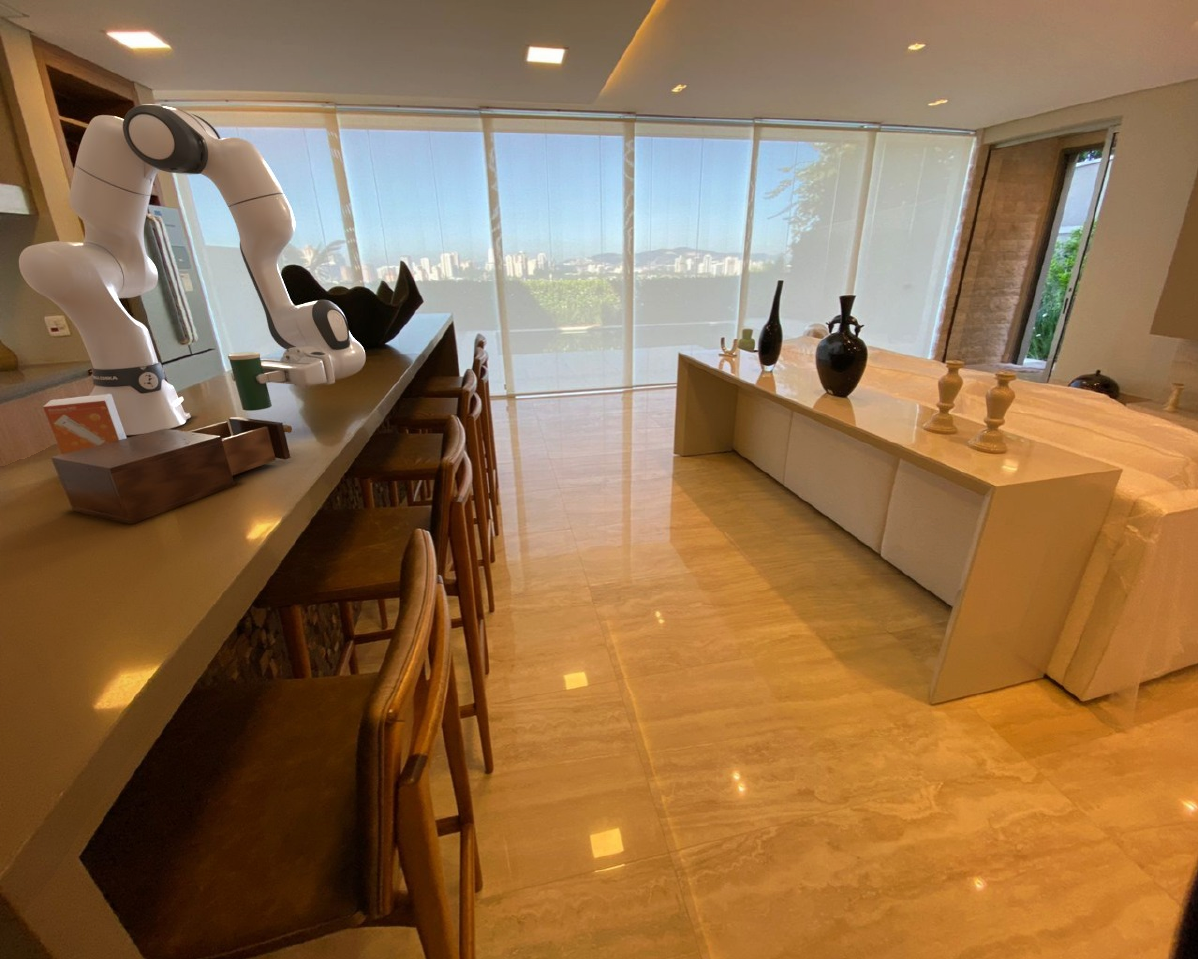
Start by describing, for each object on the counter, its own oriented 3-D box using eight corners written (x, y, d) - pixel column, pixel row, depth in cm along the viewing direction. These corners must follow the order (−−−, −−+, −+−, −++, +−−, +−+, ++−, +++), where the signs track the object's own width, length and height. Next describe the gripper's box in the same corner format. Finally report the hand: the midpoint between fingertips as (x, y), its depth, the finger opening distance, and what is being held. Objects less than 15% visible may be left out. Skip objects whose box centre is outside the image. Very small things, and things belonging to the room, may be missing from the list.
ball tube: (235, 409, 108) (221, 355, 104) (259, 403, 113) (246, 351, 108) (254, 411, 106) (240, 356, 102) (278, 405, 111) (265, 352, 107)
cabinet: (180, 475, 93) (165, 428, 90) (235, 485, 89) (221, 436, 85) (73, 511, 80) (50, 457, 76) (131, 524, 75) (109, 468, 72)
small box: (71, 479, 92) (40, 406, 87) (78, 469, 96) (50, 399, 92) (131, 470, 96) (105, 399, 91) (135, 460, 101) (111, 393, 96)
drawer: (263, 444, 106) (254, 411, 104) (309, 450, 102) (301, 416, 100) (164, 476, 90) (151, 438, 88) (214, 485, 86) (202, 446, 84)
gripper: (266, 350, 120) (205, 359, 108) (335, 354, 114) (279, 365, 102) (272, 378, 123) (214, 390, 111) (340, 383, 116) (286, 397, 104)
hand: (245, 378), depth 106 cm, fingers closed on ball tube, 5 cm apart
